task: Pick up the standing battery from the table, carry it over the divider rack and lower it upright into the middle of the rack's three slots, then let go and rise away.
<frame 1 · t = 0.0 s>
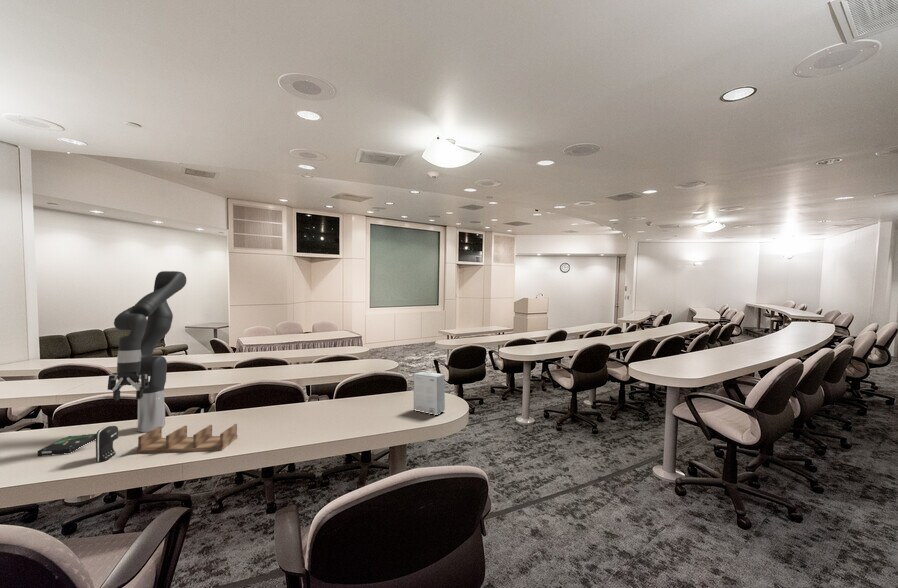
hand: (127, 399, 147), 17 cm above the table, tool pointing down, fingers open, 8 cm apart
hard drive box: (429, 412, 184), on the table
divider rack: (189, 445, 142), on the table
disk drive: (69, 448, 140), on the table
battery: (107, 458, 131), on the table
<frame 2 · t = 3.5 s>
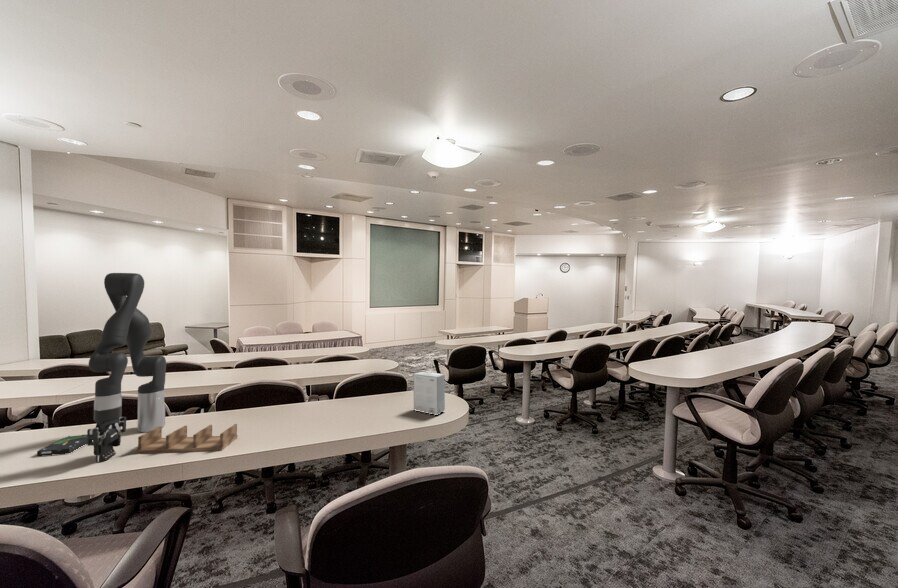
hand: (107, 450, 131), 3 cm above the table, tool pointing down, fingers closed on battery, 7 cm apart
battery: (107, 458, 131), on the table, touching gripper
everything else where it was.
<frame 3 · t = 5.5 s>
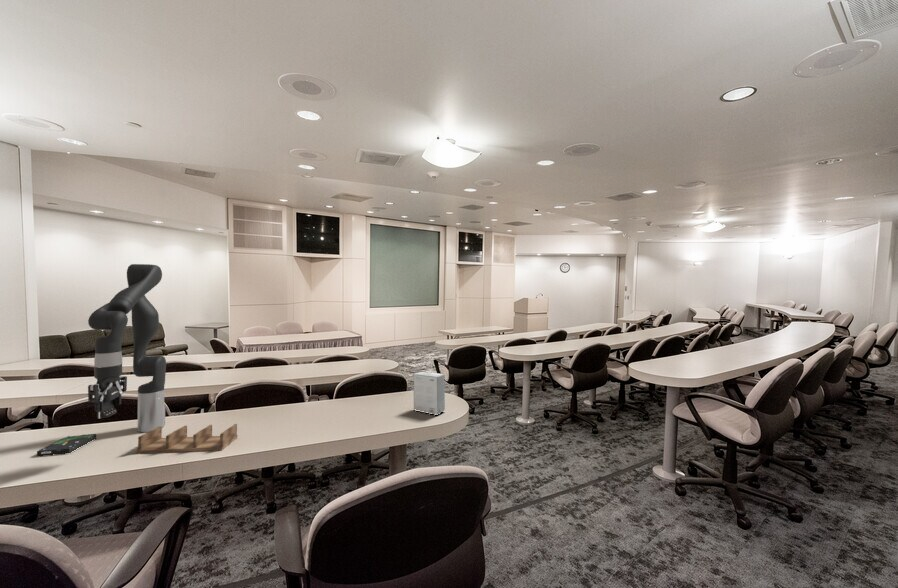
hand: (108, 408, 131), 19 cm above the table, tool pointing down, fingers closed on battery, 7 cm apart
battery: (108, 416, 131), point 16 cm above the table, touching gripper
everything else where it was.
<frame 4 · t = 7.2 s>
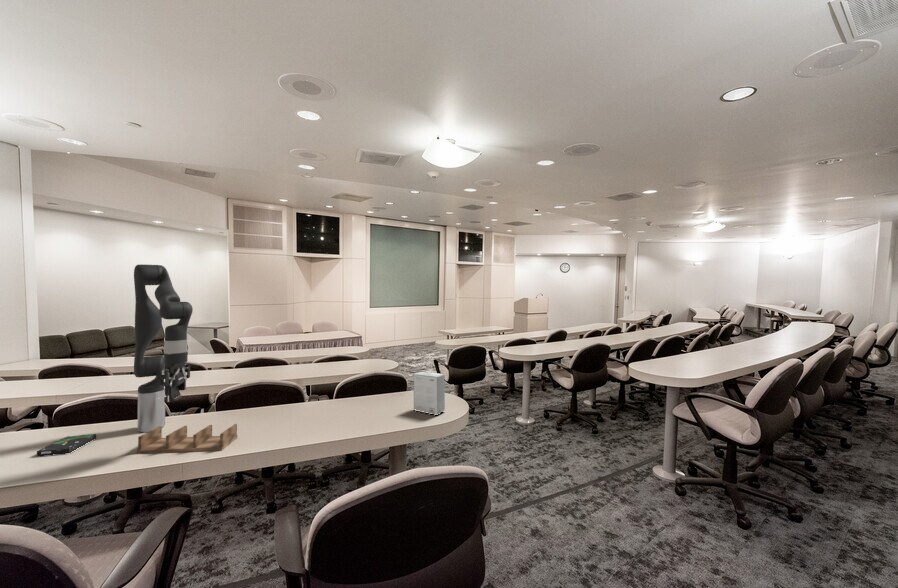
hand: (175, 392, 140), 22 cm above the table, tool pointing down, fingers closed on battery, 7 cm apart
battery: (175, 400, 140), point 19 cm above the table, touching gripper
everything else where it was.
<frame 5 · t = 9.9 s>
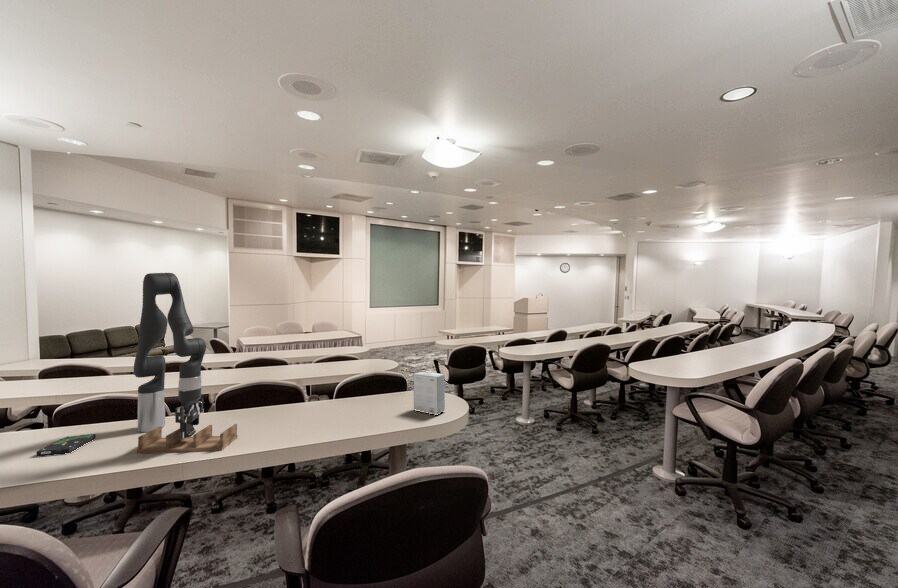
hand: (189, 428, 142), 7 cm above the table, tool pointing down, fingers closed on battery, 7 cm apart
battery: (190, 435, 142), point 4 cm above the table, touching gripper
everything else where it was.
when the fingers open (5 cm above the table, at t = 11.3 s): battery drops 1 cm, resting on divider rack.
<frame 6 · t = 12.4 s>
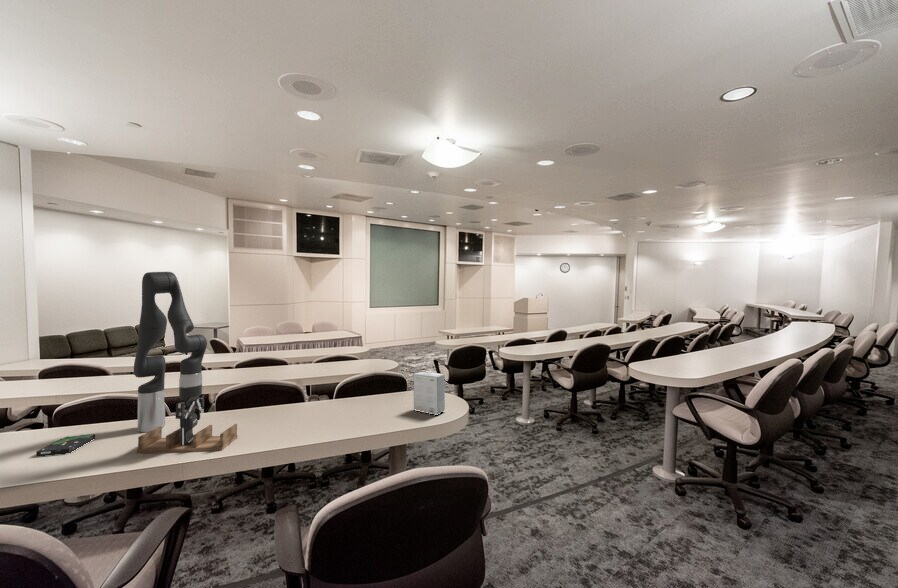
hand: (190, 423, 142), 9 cm above the table, tool pointing down, fingers open, 8 cm apart
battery: (189, 443, 142), point 1 cm above the table, touching divider rack
everything else where it was.
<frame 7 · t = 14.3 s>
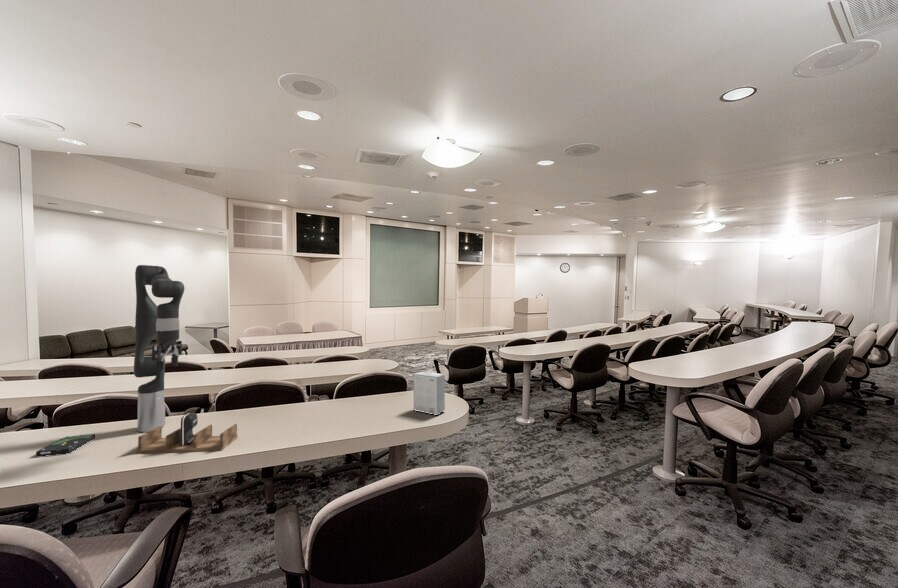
hand: (167, 368, 144), 31 cm above the table, tool pointing down, fingers open, 8 cm apart
nothing on the table moved.
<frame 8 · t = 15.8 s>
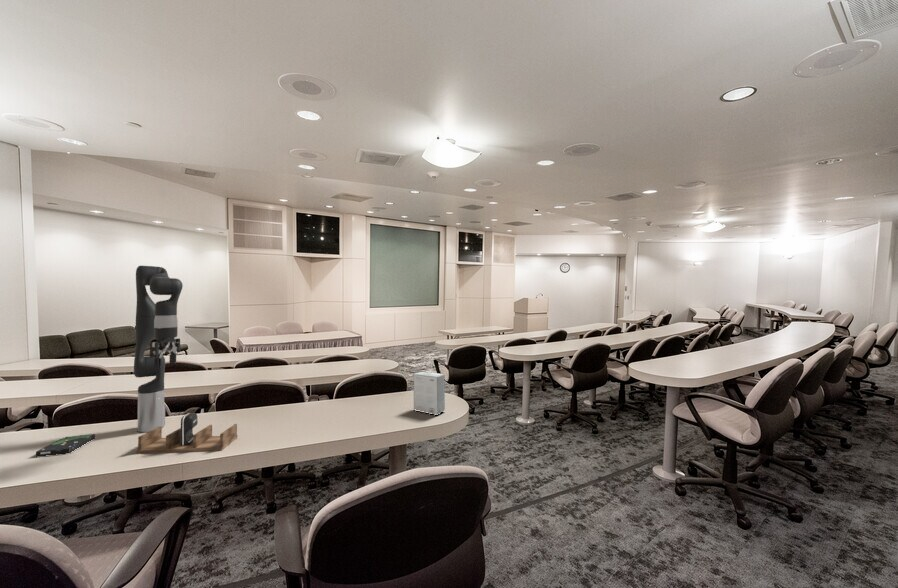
hand: (165, 365, 144), 32 cm above the table, tool pointing down, fingers open, 8 cm apart
nothing on the table moved.
at the end: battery 0.1 cm off-centre on the divider rack, point 1.0 cm above the divider rack's base; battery tilted 0°; the gripper is holding nothing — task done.
